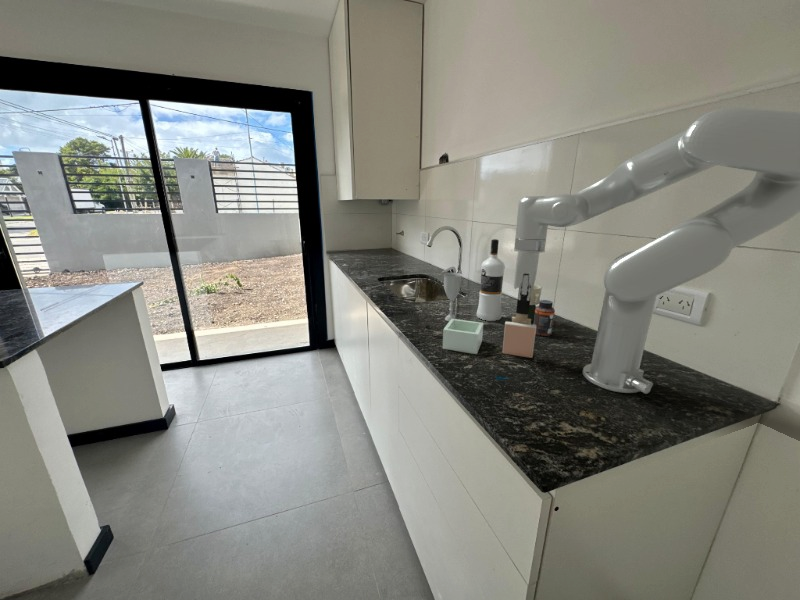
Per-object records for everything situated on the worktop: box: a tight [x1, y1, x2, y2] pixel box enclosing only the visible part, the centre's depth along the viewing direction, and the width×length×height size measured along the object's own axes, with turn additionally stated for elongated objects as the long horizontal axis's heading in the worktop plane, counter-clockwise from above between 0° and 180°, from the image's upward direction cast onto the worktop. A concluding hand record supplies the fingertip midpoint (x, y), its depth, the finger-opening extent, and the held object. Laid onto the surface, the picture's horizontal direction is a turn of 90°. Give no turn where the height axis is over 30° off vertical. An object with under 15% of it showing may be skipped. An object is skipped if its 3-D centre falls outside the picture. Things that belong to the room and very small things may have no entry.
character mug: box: [527, 284, 542, 321], centre depth 118 cm, size 11×7×13 cm, turn 8°
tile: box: [502, 321, 537, 359], centre depth 88 cm, size 8×2×10 cm, turn 68°
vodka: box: [476, 238, 505, 322], centre depth 118 cm, size 9×9×30 cm
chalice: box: [442, 272, 463, 322], centre depth 115 cm, size 7×7×18 cm
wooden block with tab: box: [511, 286, 532, 325], centre depth 88 cm, size 5×3×14 cm, turn 67°
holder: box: [442, 318, 484, 355], centre depth 95 cm, size 10×10×7 cm
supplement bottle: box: [532, 299, 556, 337], centre depth 105 cm, size 6×6×11 cm
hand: (522, 311), depth 88 cm, fingers closed on wooden block with tab, 3 cm apart
